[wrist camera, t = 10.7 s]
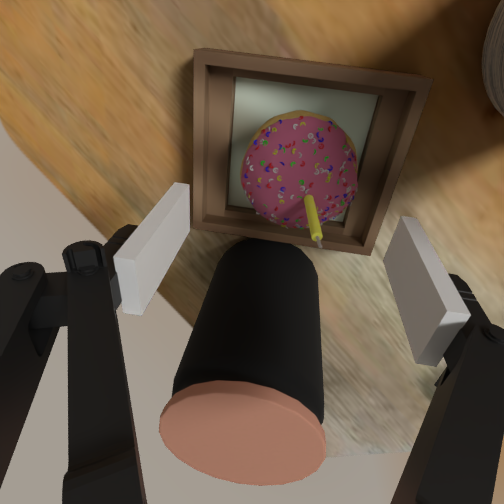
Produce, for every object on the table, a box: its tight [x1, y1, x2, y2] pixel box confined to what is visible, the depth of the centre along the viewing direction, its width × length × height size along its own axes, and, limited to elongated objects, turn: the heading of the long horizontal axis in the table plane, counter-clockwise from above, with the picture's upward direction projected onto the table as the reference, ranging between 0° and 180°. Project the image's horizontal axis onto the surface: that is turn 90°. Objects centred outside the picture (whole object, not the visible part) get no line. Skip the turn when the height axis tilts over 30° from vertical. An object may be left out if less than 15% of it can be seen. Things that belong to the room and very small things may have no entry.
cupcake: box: [240, 110, 358, 248], centre depth 23 cm, size 9×8×12 cm
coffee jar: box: [159, 238, 326, 486], centre depth 28 cm, size 11×11×18 cm
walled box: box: [193, 48, 434, 256], centre depth 27 cm, size 14×16×3 cm
